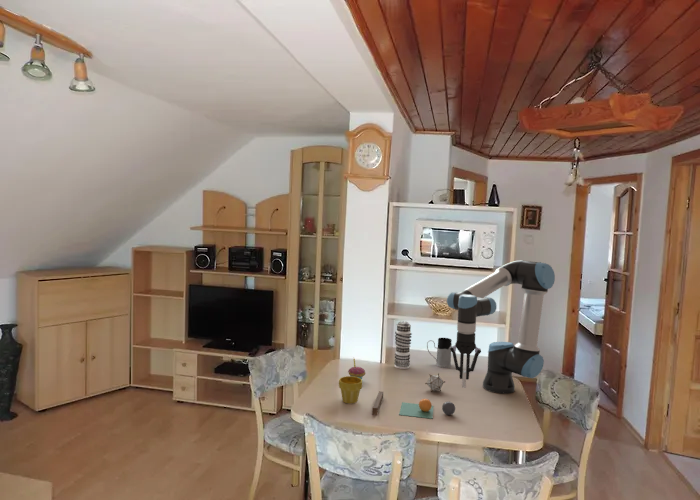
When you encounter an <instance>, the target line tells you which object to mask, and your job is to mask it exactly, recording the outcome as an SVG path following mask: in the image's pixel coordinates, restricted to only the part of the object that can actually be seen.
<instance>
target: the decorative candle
mask: <svg viewBox="0 0 700 500" xmlns="http://www.w3.org/2000/svg"><path fill="white" fill-rule="evenodd" d="M411 327H412V326H411V324H410V322H408V321H404V320H403V321H399V322H398V323H396V331H395V333H394V334H395V335H394V337H395V338H394V340H395V342H394V343H395V353H394V368H396V369H401V370H407V369H409V368H410V365H411V364H410V363H411V360H410V359H411V354H410V353H411V352H410V348H411V344H412V342H411V341H412V339H411V338H412V335H413V333H412V332H411Z"/></svg>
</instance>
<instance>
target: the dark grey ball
mask: <svg viewBox="0 0 700 500" xmlns="http://www.w3.org/2000/svg"><path fill="white" fill-rule="evenodd" d="M441 408H442V409H441V410H442V412H443V413H444V414H445V415H446V416H451V415H453V414H454V413H455V411H456V405H455V404H454V403H453V402H452V401H445V402H444V403H443V404H442V407H441Z"/></svg>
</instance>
